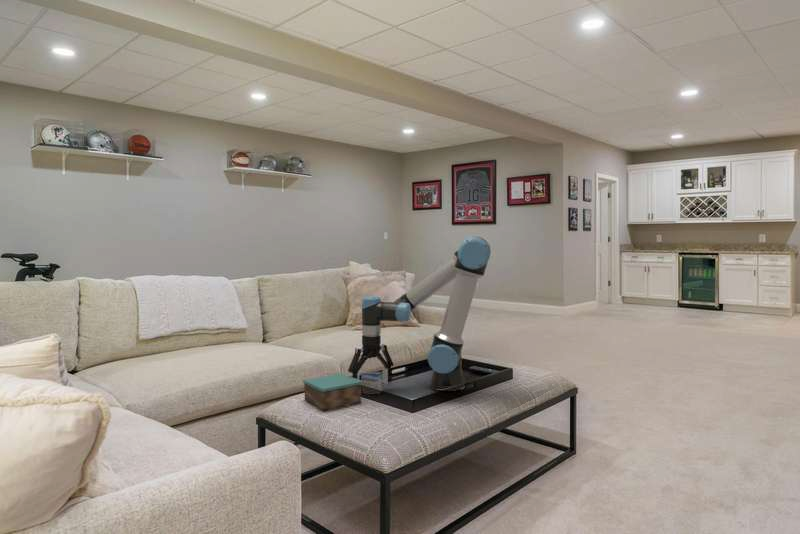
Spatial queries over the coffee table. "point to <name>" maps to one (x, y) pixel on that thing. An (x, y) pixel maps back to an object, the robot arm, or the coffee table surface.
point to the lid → (332, 382)
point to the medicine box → (372, 379)
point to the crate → (332, 397)
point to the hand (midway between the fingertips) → (371, 386)
